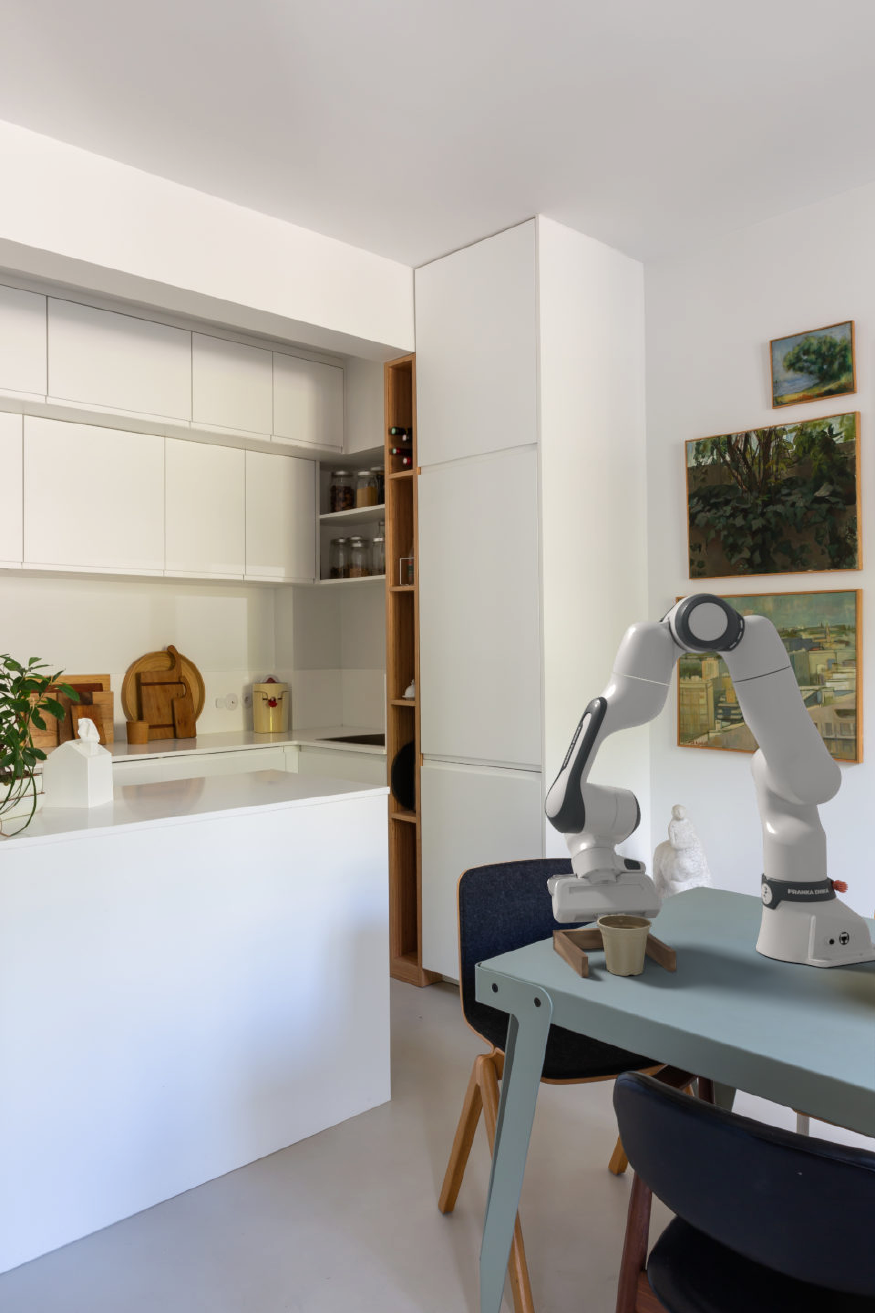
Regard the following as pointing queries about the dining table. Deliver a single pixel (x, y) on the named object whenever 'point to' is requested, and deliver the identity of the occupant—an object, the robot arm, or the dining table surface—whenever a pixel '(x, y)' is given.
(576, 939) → the wooden u-shaped frame
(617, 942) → the flower pot
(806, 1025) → the dining table surface
